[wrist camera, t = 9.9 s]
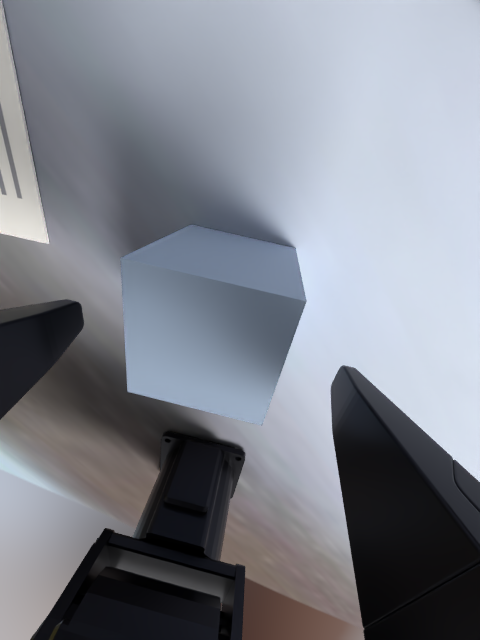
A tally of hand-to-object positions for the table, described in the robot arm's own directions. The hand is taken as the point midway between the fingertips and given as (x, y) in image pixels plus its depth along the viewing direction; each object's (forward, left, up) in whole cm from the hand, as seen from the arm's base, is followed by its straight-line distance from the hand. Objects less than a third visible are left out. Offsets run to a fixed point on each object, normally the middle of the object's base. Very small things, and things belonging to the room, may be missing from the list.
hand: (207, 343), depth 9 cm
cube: (0, 0, -5) cm, 5 cm away
